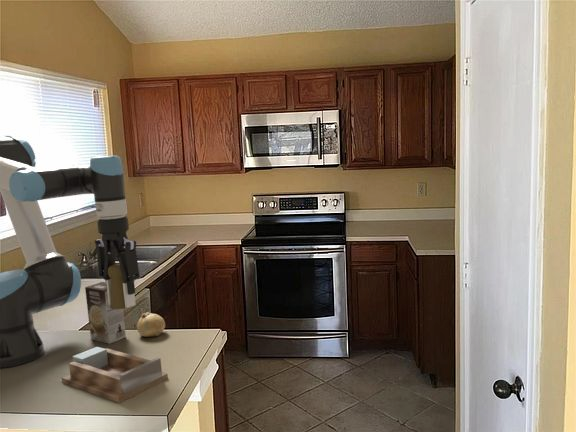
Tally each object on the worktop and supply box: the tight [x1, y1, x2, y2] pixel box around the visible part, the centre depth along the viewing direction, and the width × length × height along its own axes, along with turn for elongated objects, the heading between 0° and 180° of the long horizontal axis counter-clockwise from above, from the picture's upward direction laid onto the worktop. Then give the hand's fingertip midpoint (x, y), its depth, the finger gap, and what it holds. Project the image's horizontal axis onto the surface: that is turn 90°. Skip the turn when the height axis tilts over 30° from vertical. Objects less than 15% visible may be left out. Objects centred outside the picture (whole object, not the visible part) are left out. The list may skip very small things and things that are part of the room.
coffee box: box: [84, 281, 127, 344], centre depth 160 cm, size 9×6×16 cm
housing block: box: [72, 346, 108, 369], centre depth 136 cm, size 4×7×4 cm, turn 144°
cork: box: [108, 263, 130, 310], centre depth 141 cm, size 6×6×11 cm
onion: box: [136, 311, 166, 338], centre depth 162 cm, size 8×8×7 cm
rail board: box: [61, 347, 169, 404], centre depth 131 cm, size 22×14×6 cm, turn 54°
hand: (122, 304), depth 142 cm, fingers closed on cork, 6 cm apart
